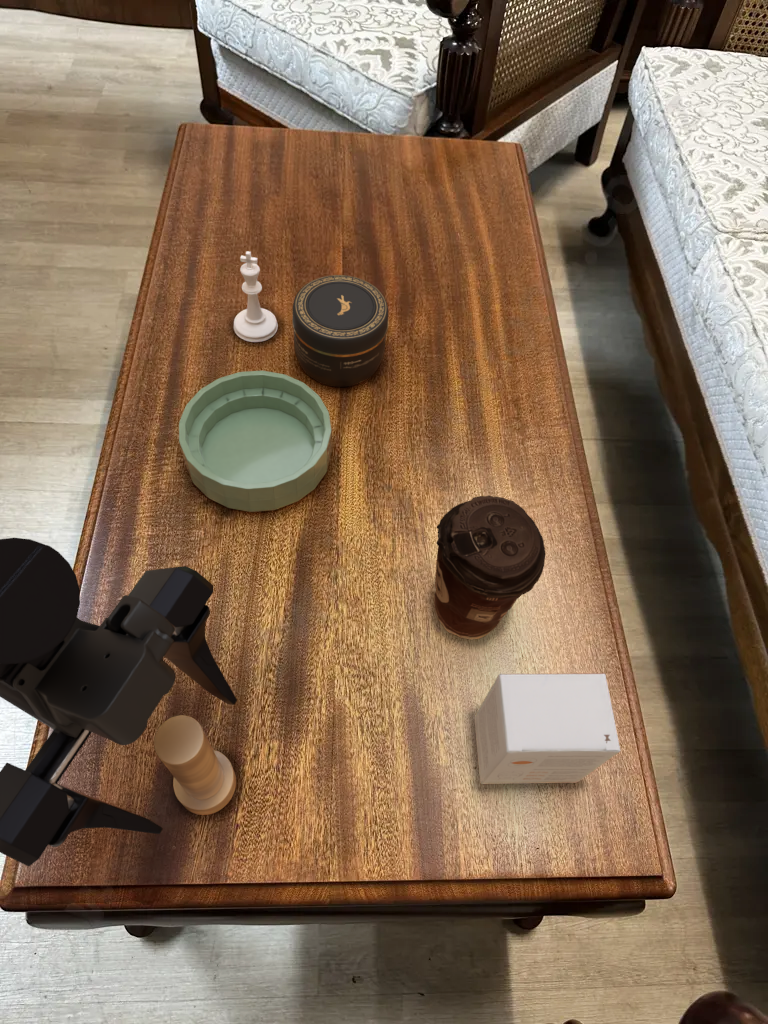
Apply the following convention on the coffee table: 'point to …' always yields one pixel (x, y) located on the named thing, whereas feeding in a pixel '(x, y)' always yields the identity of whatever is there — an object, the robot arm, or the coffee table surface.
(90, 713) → the robot arm
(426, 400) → the coffee table surface
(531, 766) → the small box
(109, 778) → the coffee table surface
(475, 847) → the coffee table surface
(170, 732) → the muddler
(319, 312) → the jar
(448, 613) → the coffee cup
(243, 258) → the chess piece
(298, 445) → the bowl
